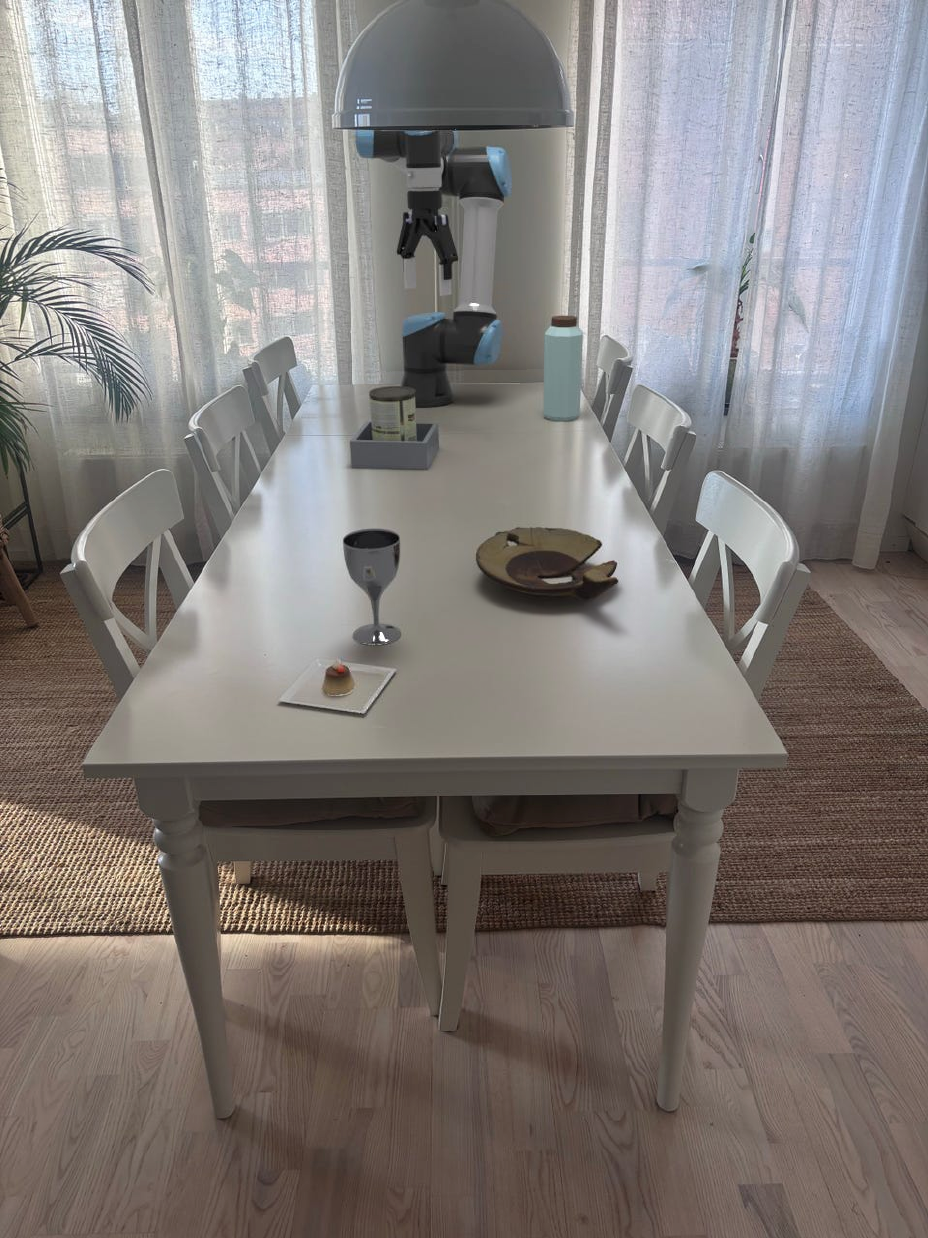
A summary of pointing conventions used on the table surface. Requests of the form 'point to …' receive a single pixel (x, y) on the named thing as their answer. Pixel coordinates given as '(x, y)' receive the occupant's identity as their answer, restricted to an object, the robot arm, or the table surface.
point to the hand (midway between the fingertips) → (427, 291)
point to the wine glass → (373, 576)
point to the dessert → (334, 681)
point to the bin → (395, 449)
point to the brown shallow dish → (545, 562)
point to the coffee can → (393, 413)
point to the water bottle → (562, 369)
